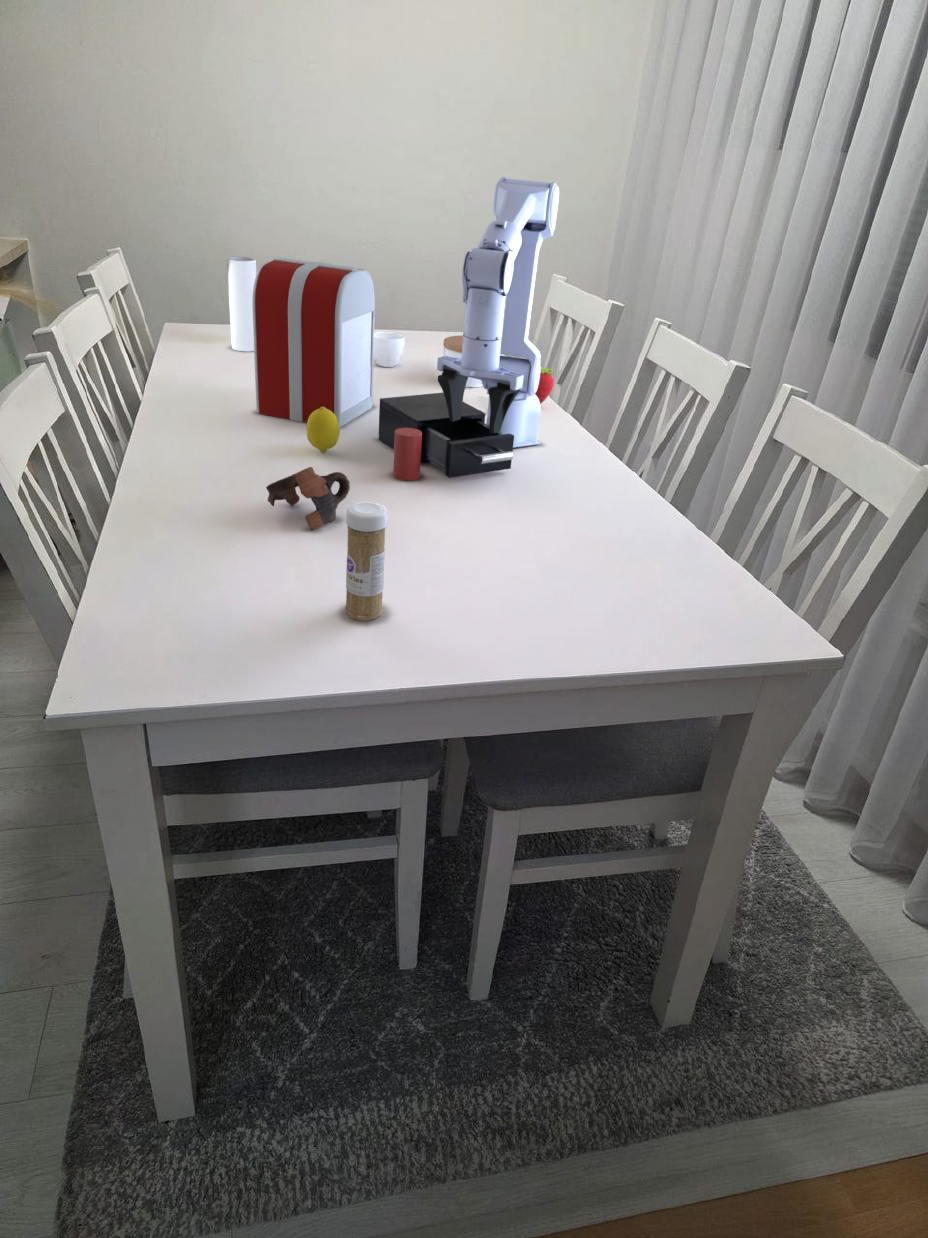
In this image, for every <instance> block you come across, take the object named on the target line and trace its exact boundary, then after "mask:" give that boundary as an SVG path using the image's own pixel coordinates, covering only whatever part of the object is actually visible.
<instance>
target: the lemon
mask: <svg viewBox="0 0 928 1238" xmlns="http://www.w3.org/2000/svg"><path fill="white" fill-rule="evenodd" d="M306 437H307V440H308V442H309V444H310V445H311V446H312V447H313V448H315V449H317V450H318V451H319V452H320V453H323V454H324V453H326V452H327V451H328V450H330V449H332V448H334V447H335V446H336V444H338V441H339V438H340V428H339V423H338V420H337V417H336V416H335V414H334V413H333V412H332V411H330V410H328V409H326V408H325V407H321V408H320V409H317V410H315V411H314V412H312V414H311V415H310V416H309V419H308V422H306Z"/></svg>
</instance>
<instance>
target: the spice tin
mask: <svg viewBox="0 0 928 1238" xmlns="http://www.w3.org/2000/svg"><path fill="white" fill-rule="evenodd" d="M421 446H422V432H421V431H420V430H418V429H414V428H399V429H396V430H395V438H394V450H393V467H392V476H393V478H395V479H397V480H398V481H399V480H400V481H407V482H408V481H409V482H411V481H417V480H419V479H420V477H421V465H422V464H421Z"/></svg>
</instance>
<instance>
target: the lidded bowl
mask: <svg viewBox="0 0 928 1238" xmlns="http://www.w3.org/2000/svg"><path fill="white" fill-rule="evenodd" d="M462 344H463V335H452V336H447V337H445V338H443V356H448V357H453V358H460V359H461V358H462ZM481 387H483V385H482V381H481V380H479V379H475V378H471V377H468V380H467V383H466V386H465V388H481Z"/></svg>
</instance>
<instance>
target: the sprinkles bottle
mask: <svg viewBox="0 0 928 1238" xmlns="http://www.w3.org/2000/svg"><path fill="white" fill-rule="evenodd" d="M345 523H346V526H347V550H346V551H347V555H346V567H345V568H346V569H345V570H346V571H345V572H346V573H345V574H346V576H345V589H346V596H345V606H344V611H345V614H346V615H347V616H348V618H351V619H353V620H355V621H360V622H364V621H365V622H366V621H367V622H368V621H372V620H376V619H378V618H380V617H381V616H382V615H383V613H384V608H383V595H384V593H383V591H384V587H385V586H384V585H385V584H384V583H385V561H386V560H385V559H386V548H385V547H386V545H385V543H386V542H385V541H386V530H387V529H386V528H387V525H388V509H387V508H386V507H385V506H384V505H383V504H381V503H377V502H373V501H358V502H357V501H356V502H353V503H351V504H350V505H348V506H347V508H346V513H345Z"/></svg>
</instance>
